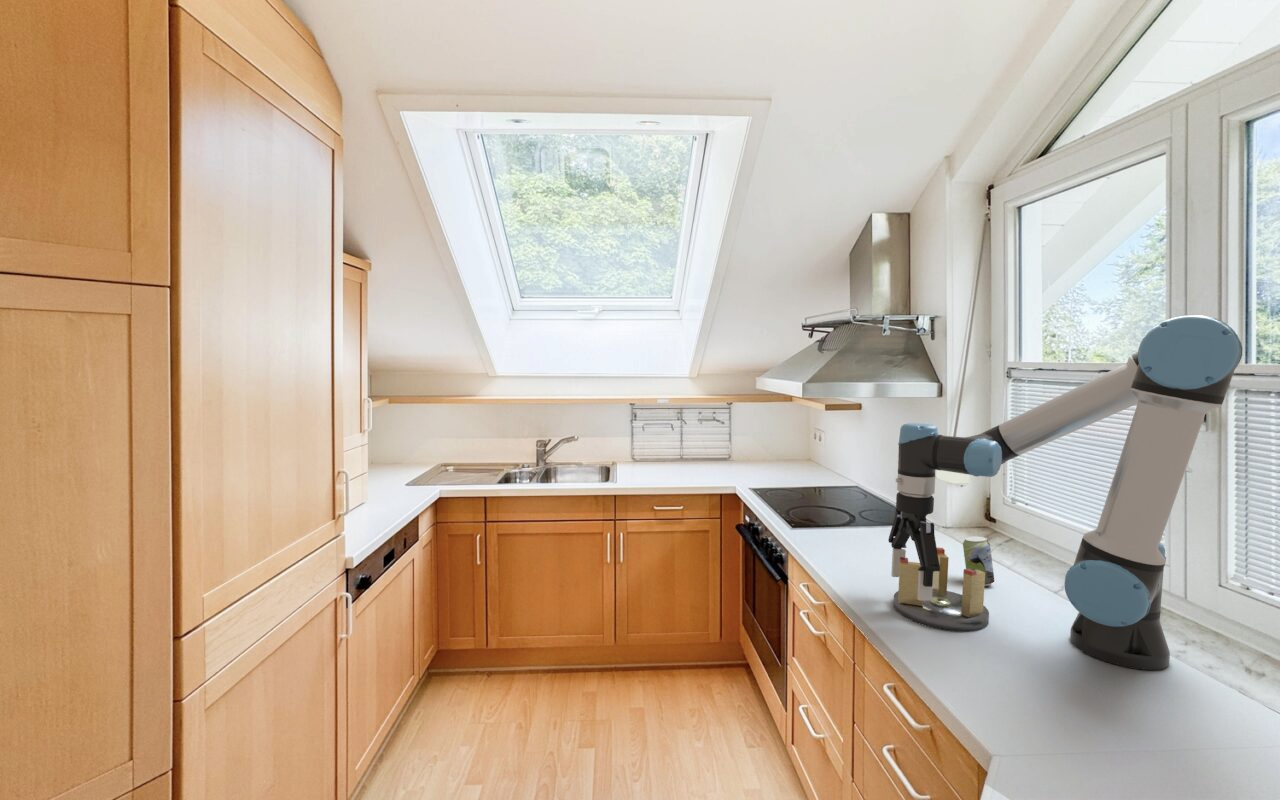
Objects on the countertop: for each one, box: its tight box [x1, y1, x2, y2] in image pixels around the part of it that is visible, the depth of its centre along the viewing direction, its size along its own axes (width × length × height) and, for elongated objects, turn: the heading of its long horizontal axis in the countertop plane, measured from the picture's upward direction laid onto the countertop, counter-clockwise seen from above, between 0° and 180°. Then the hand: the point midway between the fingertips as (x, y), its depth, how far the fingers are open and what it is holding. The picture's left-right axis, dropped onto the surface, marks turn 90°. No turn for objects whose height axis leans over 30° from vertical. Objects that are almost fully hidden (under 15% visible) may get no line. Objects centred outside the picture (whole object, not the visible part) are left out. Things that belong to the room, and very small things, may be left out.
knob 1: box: [897, 557, 922, 606], centre depth 132 cm, size 5×2×10 cm, turn 69°
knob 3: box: [961, 568, 985, 618], centre depth 126 cm, size 5×2×10 cm, turn 119°
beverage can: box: [962, 535, 995, 587], centre depth 150 cm, size 6×7×12 cm
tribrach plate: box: [893, 589, 990, 633], centre depth 132 cm, size 19×19×3 cm
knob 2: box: [933, 547, 950, 596], centre depth 138 cm, size 5×2×10 cm, turn 168°
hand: (910, 587), depth 132 cm, fingers open, 13 cm apart
